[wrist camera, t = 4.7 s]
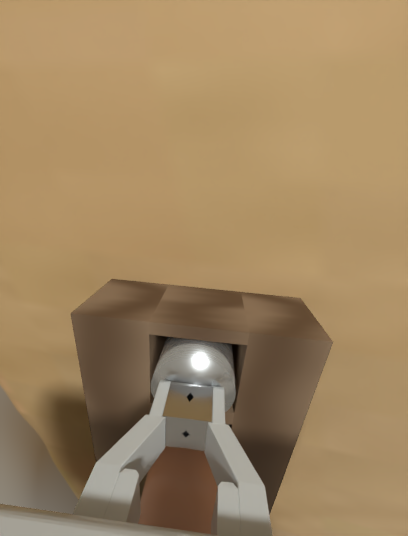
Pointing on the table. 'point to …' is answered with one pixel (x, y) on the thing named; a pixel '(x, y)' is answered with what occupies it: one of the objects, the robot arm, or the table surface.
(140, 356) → the walnut block
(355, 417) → the table surface
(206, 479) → the peach egg shape
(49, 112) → the table surface
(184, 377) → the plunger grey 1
